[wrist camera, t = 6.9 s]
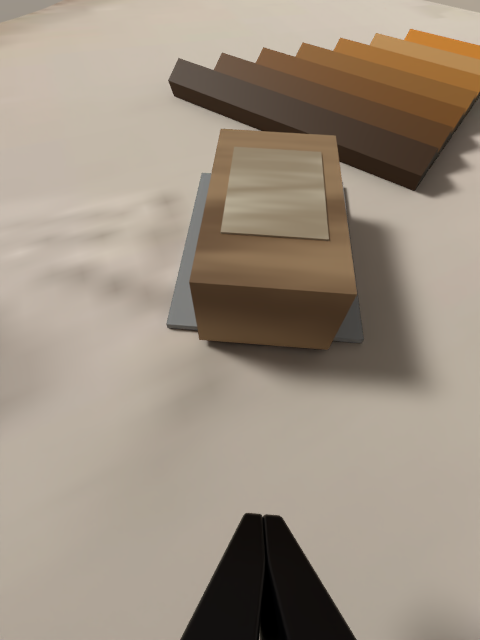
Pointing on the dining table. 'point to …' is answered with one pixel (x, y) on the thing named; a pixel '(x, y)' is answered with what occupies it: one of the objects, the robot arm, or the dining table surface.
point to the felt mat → (182, 299)
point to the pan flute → (350, 97)
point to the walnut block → (273, 242)
